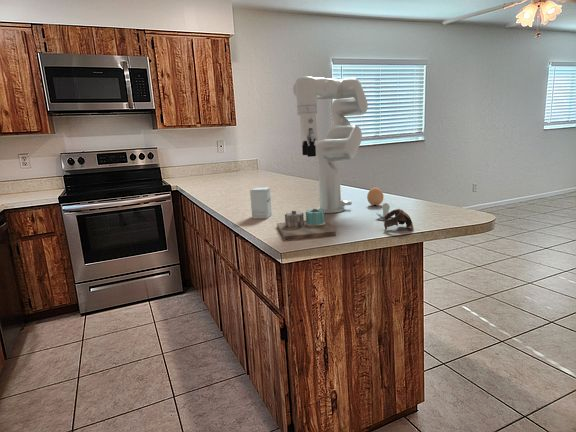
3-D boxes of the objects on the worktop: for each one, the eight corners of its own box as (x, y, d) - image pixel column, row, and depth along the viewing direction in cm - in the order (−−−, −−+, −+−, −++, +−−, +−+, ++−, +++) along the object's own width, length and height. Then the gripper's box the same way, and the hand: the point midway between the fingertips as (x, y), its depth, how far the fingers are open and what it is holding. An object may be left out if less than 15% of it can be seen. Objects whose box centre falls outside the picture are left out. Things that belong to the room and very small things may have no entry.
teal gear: (322, 220, 153) (321, 208, 152) (326, 224, 147) (326, 212, 146) (304, 221, 153) (304, 210, 152) (308, 225, 146) (307, 213, 145)
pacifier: (397, 221, 153) (394, 217, 159) (397, 205, 152) (394, 201, 157) (377, 221, 154) (375, 217, 160) (377, 206, 152) (375, 202, 158)
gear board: (322, 222, 156) (321, 205, 155) (335, 235, 137) (335, 215, 135) (277, 226, 154) (276, 209, 152) (284, 240, 135) (283, 220, 133)
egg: (386, 204, 183) (386, 186, 181) (378, 207, 178) (378, 189, 176) (372, 203, 188) (372, 185, 186) (364, 206, 182) (364, 188, 181)
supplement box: (268, 218, 169) (266, 189, 167) (251, 218, 171) (249, 189, 168) (272, 214, 176) (270, 186, 174) (256, 214, 178) (254, 187, 175)
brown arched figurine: (415, 234, 135) (403, 215, 133) (390, 244, 140) (378, 225, 138) (416, 217, 145) (405, 199, 143) (393, 227, 149) (382, 210, 148)
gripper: (321, 109, 143) (323, 156, 147) (311, 111, 160) (313, 153, 164) (301, 110, 142) (303, 157, 146) (293, 112, 159) (295, 155, 163)
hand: (309, 155), depth 155 cm, fingers open, 9 cm apart
